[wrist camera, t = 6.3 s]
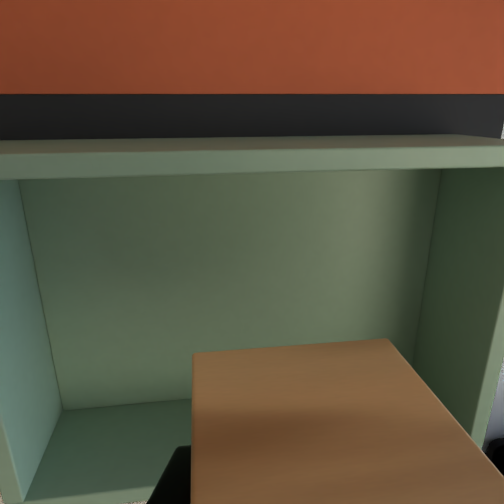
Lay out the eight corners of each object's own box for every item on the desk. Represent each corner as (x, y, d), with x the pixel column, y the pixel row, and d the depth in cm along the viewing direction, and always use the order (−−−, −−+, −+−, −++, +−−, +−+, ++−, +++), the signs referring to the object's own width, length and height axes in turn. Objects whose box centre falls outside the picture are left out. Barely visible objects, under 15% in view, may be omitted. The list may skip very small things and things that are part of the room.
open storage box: (416, 382, 19) (480, 459, 15) (52, 417, 17) (7, 518, 13) (456, 133, 15) (554, 144, 11) (-5, 140, 13) (-97, 155, 9)
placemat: (446, 398, 20) (450, 402, 20) (13, 443, 18) (11, 448, 17) (572, -268, 12) (581, -277, 12) (-192, -365, 10) (-204, -380, 9)
